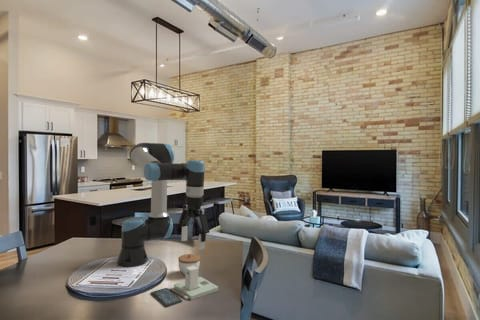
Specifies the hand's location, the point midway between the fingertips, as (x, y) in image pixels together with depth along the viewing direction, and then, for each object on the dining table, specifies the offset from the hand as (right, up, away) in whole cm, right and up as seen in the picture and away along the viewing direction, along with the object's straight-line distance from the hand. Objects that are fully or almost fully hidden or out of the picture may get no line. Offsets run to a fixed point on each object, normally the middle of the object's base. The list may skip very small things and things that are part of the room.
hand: (192, 244), depth 127 cm
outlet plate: (+1, -20, +2) cm, 20 cm away
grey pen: (-6, -20, -3) cm, 21 cm away
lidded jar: (-5, -20, +19) cm, 28 cm away
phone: (-10, -20, -7) cm, 24 cm away
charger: (-1, -20, 0) cm, 20 cm away
